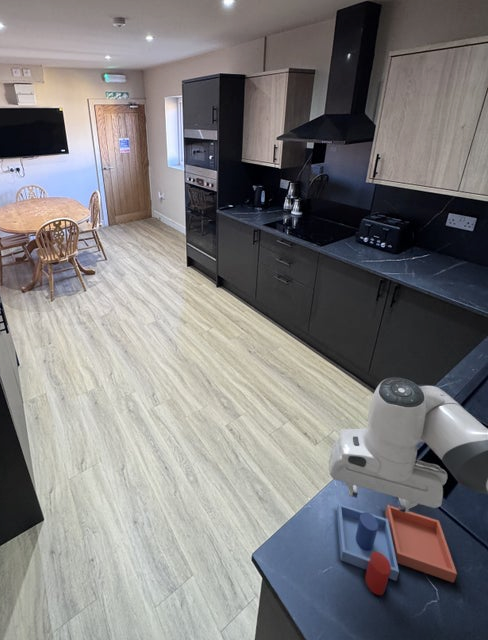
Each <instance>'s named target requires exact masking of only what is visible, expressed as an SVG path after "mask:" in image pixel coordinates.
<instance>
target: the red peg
mask: <svg viewBox="0 0 488 640" xmlns="http://www.w3.org/2000/svg"><path fill="white" fill-rule="evenodd" d="M390 571H391V566H390V563H389V561H388V559H387V558H386V557H385V556H384V555H383V554H381V553H379V552H373V553H372V554H371V556H370V560H369V564H368V568H367V570H366V572H365V578H364V580H365V584H366V586H367V588H368V589H369V591H371V592H372V593H373V594H375V595H377V596H382V595H384V594H385V592H386V587H387V584H388V581H389V579H390V578H389V575H390Z"/></svg>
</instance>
